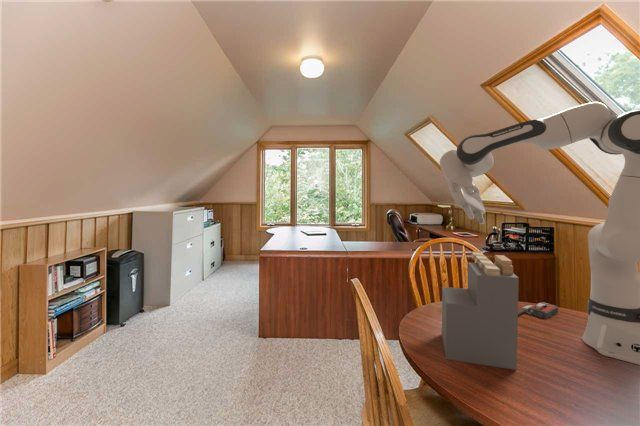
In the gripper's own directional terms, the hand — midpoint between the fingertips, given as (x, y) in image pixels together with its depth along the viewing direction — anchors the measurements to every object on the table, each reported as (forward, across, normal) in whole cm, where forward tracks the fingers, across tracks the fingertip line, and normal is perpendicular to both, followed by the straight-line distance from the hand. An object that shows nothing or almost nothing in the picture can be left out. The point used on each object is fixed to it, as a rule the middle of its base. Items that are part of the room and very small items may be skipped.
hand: (477, 221), depth 103 cm
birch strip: (+16, -6, +2) cm, 18 cm away
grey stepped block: (+40, -5, +15) cm, 43 cm away
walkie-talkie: (+32, +40, +4) cm, 52 cm away
